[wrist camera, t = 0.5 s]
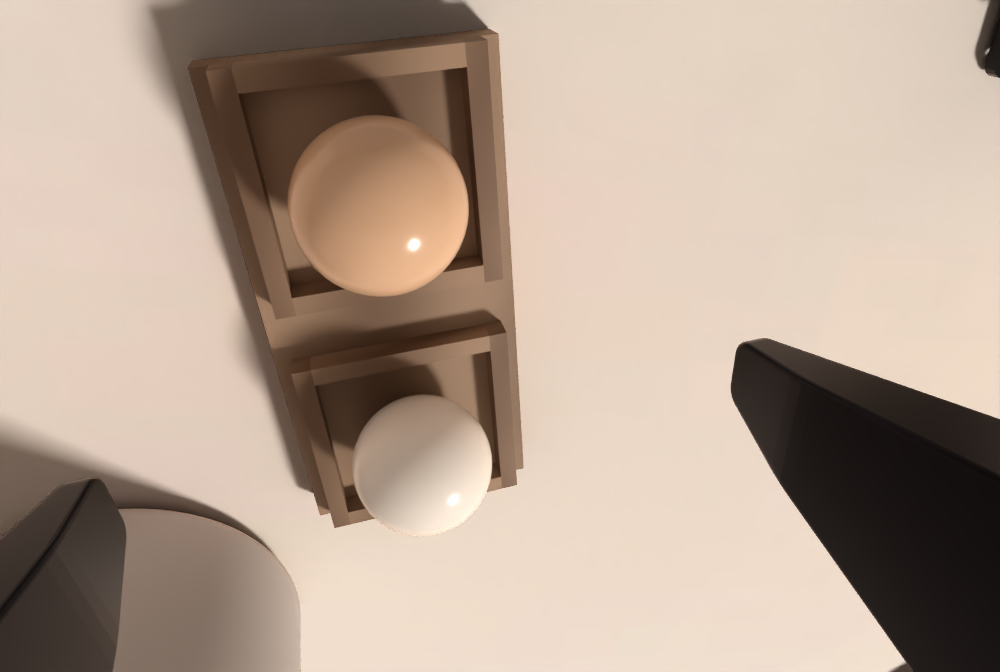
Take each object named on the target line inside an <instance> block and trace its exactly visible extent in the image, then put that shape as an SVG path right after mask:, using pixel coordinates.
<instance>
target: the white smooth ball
mask: <svg viewBox="0 0 1000 672" xmlns="http://www.w3.org/2000/svg"><path fill="white" fill-rule="evenodd" d="M491 473H492V454H491V448H490V445H489V441H488V439H487V436H486V434H485V432H484V430H483V428H482V426H481V425H480V423H479V422H478V421H477V420H476V418H475V417H474V416H473V415H472V414H471V413H470V412H469V411H467V410H466V409H465V408H464V407H462V406H461V405H459V404H458V403H456V402H454V401H452V400H449V399H447V398H444V397H441V396H435V395H425V394H422V395H412V396H407V397H403V398H400V399H398V400H395V401H393V402H391V403H389V404H388V405H386V406H385V407H383V408H382V409H380V410H379V411H378V412H377V413H375V414H374V415H373V416H372V418H371V419H370V420H369V421H368V422H367V424H366V425H365V426H364V428H363V429H362V431H361V433H360V435H359V437H358V440H357V442H356V445H355V449H354V454H353V459H352V474H353V480H354V485H355V488H356V491H357V494H358V496H359V498H360V500H361V502H362V504H363V505H364V507H365V508H366V510H367V511H368V512H369V513H370V514H371V515H372V516H373V517H374V518H375V519H376V520H377V521H378V522H379V523H381V524H383V525H384V526H386V527H387V528H389V529H391V530H393V531H396V532H399V533H402V534H406V535H411V536H430V535H435V534H439V533H443V532H445V531H448V530H450V529H452V528H454V527H456V526H458V525H459V524H461V523H462V522H464V521H465V520H466V519H467V518H468V517H469V516H470V515H471V514H472V513H473V512H474V511H475V510H476V509H477V508H478V506H479V505H480V503H481V502H482V500H483V498H484V496H485V494H486V492H487V489H488V486H489V483H490V480H491Z"/></svg>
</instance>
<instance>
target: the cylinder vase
mask: <svg viewBox="0 0 1000 672" xmlns="http://www.w3.org/2000/svg"><path fill="white" fill-rule="evenodd" d="M118 510H119V512H120V514H121V516H122V518H123V520H124V523H125V526H126V533H127V541H126V553H125V565H124V578H123V590H122V602H121V615H120V627H119V637H118V646H117V652H116V658H115V663H114V669H113V672H301V631H300V604H299V598H298V594H297V591H296V588H295V586H294V583H293V581H292V579H291V577H290V575H289V574H288V572H287V570H286V569H285V567H284V566H283V565H282V564H281V562H280V561H279V560H278V559H277V558H276V557H275V556H274V555H273V554H272V553H271V552H270V551H269V550H268V549H267V548H265V547H264V546H263V545H262V544H260V543H259V542H257V541H256V540H255V539H253V538H251V537H250V536H248V535H246V534H245V533H243V532H241V531H239V530H237V529H235V528H233V527H230V526H228V525H225V524H223V523H220V522H217V521H214V520H211V519H208V518H205V517H201V516H197V515H193V514H188V513H182V512H176V511H169V510H159V509H118Z"/></svg>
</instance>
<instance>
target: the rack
mask: <svg viewBox="0 0 1000 672" xmlns="http://www.w3.org/2000/svg"><path fill="white" fill-rule="evenodd" d="M188 70H189V73H190V76H191V80H192V83H193V86H194V90H195V93H196V97H197V100H198V103H199V107H200V110H201V114H202V117H203V120H204V124H205V127H206V131H207V134H208V137H209V141H210V144H211V147H212V151H213V154H214V158H215V161H216V164H217V168H218V171H219V175H220V178H221V181H222V185H223V188H224V191H225V195H226V198H227V202H228V205H229V208H230V212H231V215H232V219H233V222H234V225H235V229H236V232H237V235H238V239H239V242H240V246H241V249H242V252H243V256H244V259H245V263H246V266H247V269H248V273H249V276H250V279H251V283H252V286H253V290H254V293H255V296H256V300H257V303H258V307H259V310H260V313H261V317H262V320H263V323H264V327H265V330H266V334H267V337H268V340H269V344H270V347H271V351H272V354H273V357H274V361H275V364H276V368H277V371H278V374H279V378H280V381H281V384H282V388H283V391H284V395H285V398H286V401H287V405H288V408H289V412H290V415H291V418H292V422H293V425H294V428H295V432H296V435H297V439H298V442H299V445H300V449H301V452H302V456H303V459H304V462H305V466H306V469H307V472H308V476H309V479H310V483H311V486H312V489H313V493H314V496H315V500H316V503H317V506H318V510H319V513H320V515H324V514H328V513H331V517H332V520H333V524H334V528H337V527H341V526H345V525H349V524H354V523H358V522H362V521H366V520H370V519H375V518H374V517H373V516H372V515H371V514H370V513H369V512H368V511H367V510H366V508H365V507H364V505H363V504H362V502H361V500H360V498H359V496H358V494H357V491H356V488H355V485H354V480H353V474H352V459H353V454H354V449H355V445H356V442H357V440H358V437H359V435H360V433H361V431H362V429H363V428H364V426H365V425H366V424H367V422H368V421H369V420H370V419H371V418H372V416H373V415H374V414H375V413H377V412H378V411H379V410H380V409H382V408H383V407H385V406H386V405H388V404H389V403H391V402H393V401H395V400H398V399H400V398H403V397H407V396H412V395H422V394H425V395H435V396H441V397H444V398H447V399H449V400H452V401H454V402H456V403H458V404H459V405H461V406H462V407H464V408H465V409H466V410H467V411H469V412H470V413H471V414H472V415H473V416H474V417H475V418H476V420H477V421H478V422H479V423H480V425H481V426H482V428H483V430H484V432H485V434H486V436H487V439H488V441H489V445H490V448H491V454H492V473H491V480H490V483H489V486H488V489H487V492H489V491H493V490H497V489H501V488H505V487H510V486H514V485H517V479H516V470H517V469H522V468H523V452H522V435H521V418H520V400H519V383H518V366H517V348H516V331H515V314H514V297H513V279H512V262H511V245H510V227H509V210H508V193H507V176H506V158H505V141H504V124H503V107H502V89H501V72H500V55H499V37H498V33H496V32H494V31H492V30H490V29H484V30H475V31H466V32H456V33H447V34H438V35H428V36H419V37H410V38H400V39H391V40H381V41H372V42H363V43H353V44H344V45H335V46H325V47H316V48H307V49H297V50H288V51H278V52H269V53H260V54H250V55H241V56H232V57H222V58H213V59H204V60H194V61H192V62H191V64H190V65H189V67H188ZM364 115H384V116H391V117H396V118H400V119H403V120H406V121H409V122H412V123H414V124H416V125H418V126H420V127H422V128H423V129H425V130H426V131H428V132H429V133H431V134H432V135H433V136H434V137H435V138H437V139H438V140H439V141H440V142H441V143H442V144H443V145H444V146H445V147H446V149H447V150H448V151H449V152H450V153H451V155H452V156H453V158H454V159H455V161H456V163H457V165H458V167H459V169H460V171H461V173H462V176H463V178H464V181H465V185H466V188H467V194H468V202H469V216H468V225H467V229H466V233H465V236H464V239H463V242H462V244H461V247H460V249H459V251H458V252H457V254H456V256H455V257H454V259H453V260H452V262H451V263H450V264H449V265H448V267H447V268H446V269H445V270H444V271H443V272H442V273H441V274H440V275H438V276H437V277H436V278H435V279H434V280H432V281H431V282H429V283H428V284H426V285H424V286H422V287H420V288H418V289H416V290H414V291H411V292H408V293H405V294H401V295H396V296H387V297H376V296H367V295H362V294H358V293H354V292H351V291H348V290H345V289H343V288H341V287H339V286H337V285H335V284H334V283H332V282H331V281H329V280H328V279H326V278H325V277H324V276H322V275H321V274H320V273H319V272H318V271H317V270H316V269H314V267H313V266H312V265H311V264H310V263H309V262H308V261H307V259H306V258H305V256H304V255H303V253H302V252H301V250H300V248H299V246H298V244H297V242H296V240H295V238H294V236H293V233H292V229H291V226H290V221H289V215H288V202H287V198H288V190H289V184H290V180H291V177H292V173H293V170H294V168H295V166H296V163H297V161H298V160H299V158H300V156H301V155H302V153H303V152H304V150H305V149H306V148H307V147H308V146H309V144H310V143H311V142H312V141H313V140H314V139H315V138H316V137H318V136H319V135H320V134H321V133H322V132H324V131H325V130H327V129H328V128H330V127H331V126H333V125H335V124H337V123H339V122H341V121H344V120H347V119H350V118H354V117H359V116H364Z"/></svg>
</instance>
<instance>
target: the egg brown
mask: <svg viewBox="0 0 1000 672" xmlns="http://www.w3.org/2000/svg"><path fill="white" fill-rule="evenodd" d="M287 202H288V215H289V221H290V226H291V229H292V233H293V236H294V238H295V240H296V242H297V244H298V246H299V248H300V250H301V252H302V253H303V255H304V256H305V258H306V259H307V261H308V262H309V263H310V264H311V265H312V266H313V267H314V269H316V270H317V271H318V272H319V273H320V274H321V275H322V276H324V277H325V278H326V279H328V280H329V281H331V282H332V283H334V284H335V285H337V286H339V287H341V288H343V289H345V290H348V291H351V292H354V293H358V294H362V295H367V296H376V297H387V296H396V295H401V294H405V293H408V292H411V291H414V290H416V289H418V288H420V287H422V286H424V285H426V284H428V283H429V282H431V281H432V280H434V279H435V278H436V277H437V276H438V275H440V274H441V273H442V272H443V271H444V270H445V269H446V268H447V267H448V265H449V264H450V263H451V262H452V260H453V259H454V257H455V256H456V254H457V252H458V251H459V249H460V247H461V244H462V242H463V239H464V236H465V233H466V229H467V225H468V216H469V202H468V194H467V188H466V185H465V181H464V178H463V176H462V173H461V171H460V169H459V167H458V165H457V163H456V161H455V159H454V158H453V156H452V155H451V153H450V152H449V151H448V150H447V149H446V147H445V146H444V145H443V144H442V143H441V142H440V141H439V140H438V139H437V138H435V137H434V136H433V135H432V134H431V133H429V132H428V131H426V130H425V129H423V128H422V127H420V126H418V125H416V124H414V123H412V122H409V121H406V120H403V119H400V118H396V117H391V116H384V115H364V116H359V117H354V118H350V119H347V120H344V121H341V122H339V123H337V124H335V125H333V126H331V127H330V128H328V129H327V130H325V131H324V132H322V133H321V134H320V135H319V136H318V137H316V138H315V139H314V140H313V141H312V142H311V143H310V144H309V146H308V147H307V148H306V149H305V150H304V152H303V153H302V155H301V156H300V158H299V160H298V161H297V163H296V166H295V168H294V170H293V173H292V177H291V180H290V184H289V190H288V198H287Z"/></svg>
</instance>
